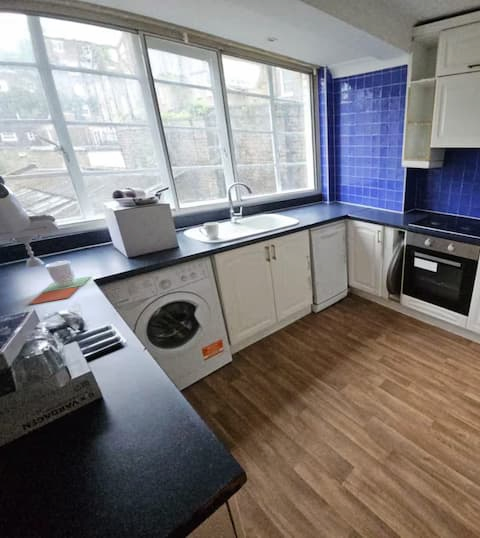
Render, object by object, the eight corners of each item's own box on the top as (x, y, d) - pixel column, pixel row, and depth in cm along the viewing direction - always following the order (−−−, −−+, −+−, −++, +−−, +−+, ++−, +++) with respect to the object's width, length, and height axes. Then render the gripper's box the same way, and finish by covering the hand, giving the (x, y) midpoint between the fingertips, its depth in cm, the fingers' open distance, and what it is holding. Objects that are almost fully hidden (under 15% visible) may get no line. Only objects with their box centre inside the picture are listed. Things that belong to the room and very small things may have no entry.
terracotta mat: (29, 305, 116) (28, 304, 116) (43, 293, 125) (42, 292, 125) (68, 298, 120) (67, 297, 120) (78, 287, 130) (78, 286, 130)
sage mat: (42, 292, 126) (42, 292, 126) (54, 282, 135) (54, 282, 135) (80, 286, 131) (80, 285, 131) (89, 277, 140) (89, 276, 140)
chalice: (21, 264, 115) (2, 219, 109) (45, 260, 120) (28, 216, 114) (23, 269, 111) (3, 222, 105) (48, 264, 116) (31, 219, 110)
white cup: (81, 282, 134) (72, 262, 130) (58, 289, 128) (48, 268, 124) (75, 278, 138) (66, 259, 134) (52, 285, 132) (42, 264, 128)
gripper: (49, 207, 110) (61, 228, 120) (-36, 216, 97) (-16, 239, 107) (54, 220, 108) (65, 240, 119) (-32, 232, 96) (-11, 253, 106)
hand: (26, 240), depth 113 cm, fingers closed on chalice, 5 cm apart
